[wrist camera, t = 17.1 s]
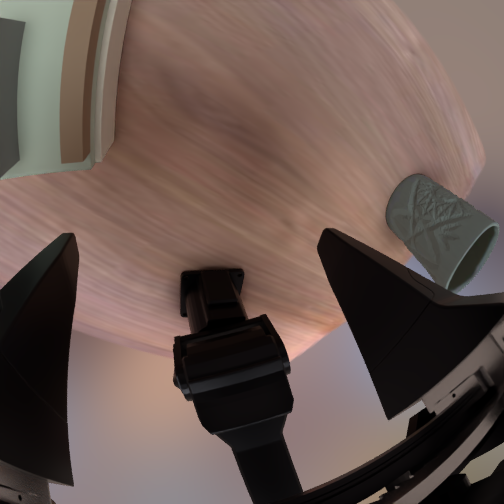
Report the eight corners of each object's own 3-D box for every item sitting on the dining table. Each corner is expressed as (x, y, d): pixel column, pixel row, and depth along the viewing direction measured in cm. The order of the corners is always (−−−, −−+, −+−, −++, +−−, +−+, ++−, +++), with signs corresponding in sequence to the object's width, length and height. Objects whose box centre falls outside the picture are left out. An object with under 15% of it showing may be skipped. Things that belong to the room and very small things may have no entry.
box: (114, 140, 17) (101, 162, 13) (-27, 160, 12) (-57, 186, 8) (135, -13, 10) (128, -35, 6) (-23, 27, 5) (-57, 28, 2)
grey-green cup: (417, 153, 26) (497, 207, 17) (441, 193, 32) (501, 243, 23) (368, 218, 30) (436, 288, 21) (400, 245, 35) (453, 304, 27)
